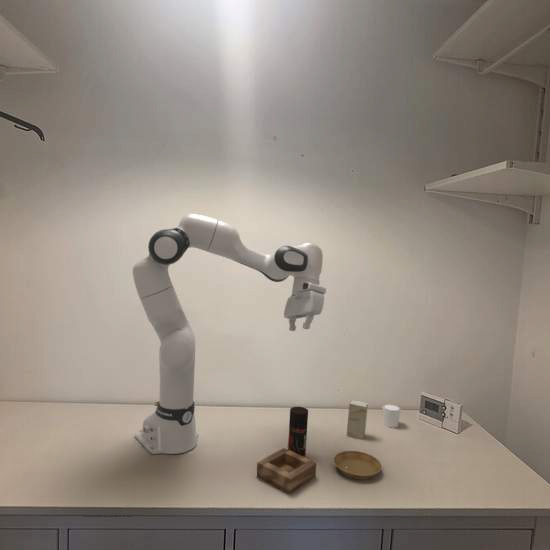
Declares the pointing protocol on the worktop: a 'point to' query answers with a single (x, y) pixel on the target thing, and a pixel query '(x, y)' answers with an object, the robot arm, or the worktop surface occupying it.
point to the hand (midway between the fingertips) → (298, 329)
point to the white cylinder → (391, 415)
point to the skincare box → (357, 419)
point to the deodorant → (298, 430)
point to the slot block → (286, 470)
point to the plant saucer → (357, 464)
